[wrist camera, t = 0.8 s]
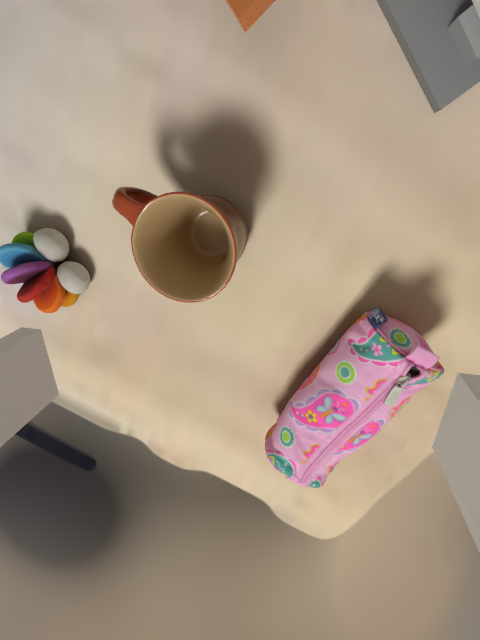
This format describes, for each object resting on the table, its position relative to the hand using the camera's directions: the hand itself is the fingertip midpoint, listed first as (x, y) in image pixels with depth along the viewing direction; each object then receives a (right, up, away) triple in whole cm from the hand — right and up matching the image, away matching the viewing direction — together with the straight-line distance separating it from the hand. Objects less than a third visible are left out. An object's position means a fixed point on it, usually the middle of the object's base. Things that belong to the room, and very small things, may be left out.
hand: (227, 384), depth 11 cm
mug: (-3, +13, +24) cm, 28 cm away
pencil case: (+13, -5, +29) cm, 32 cm away
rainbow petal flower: (-22, +9, +30) cm, 39 cm away
